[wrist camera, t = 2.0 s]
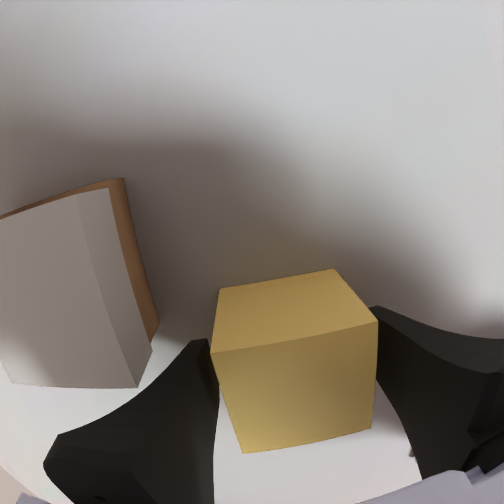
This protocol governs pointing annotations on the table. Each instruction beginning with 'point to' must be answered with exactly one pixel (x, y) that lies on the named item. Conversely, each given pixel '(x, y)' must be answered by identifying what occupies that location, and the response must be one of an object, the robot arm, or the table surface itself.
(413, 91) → the table surface
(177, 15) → the table surface
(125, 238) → the tower base slab
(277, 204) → the table surface
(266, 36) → the table surface
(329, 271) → the mustard cube
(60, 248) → the tower top slab
